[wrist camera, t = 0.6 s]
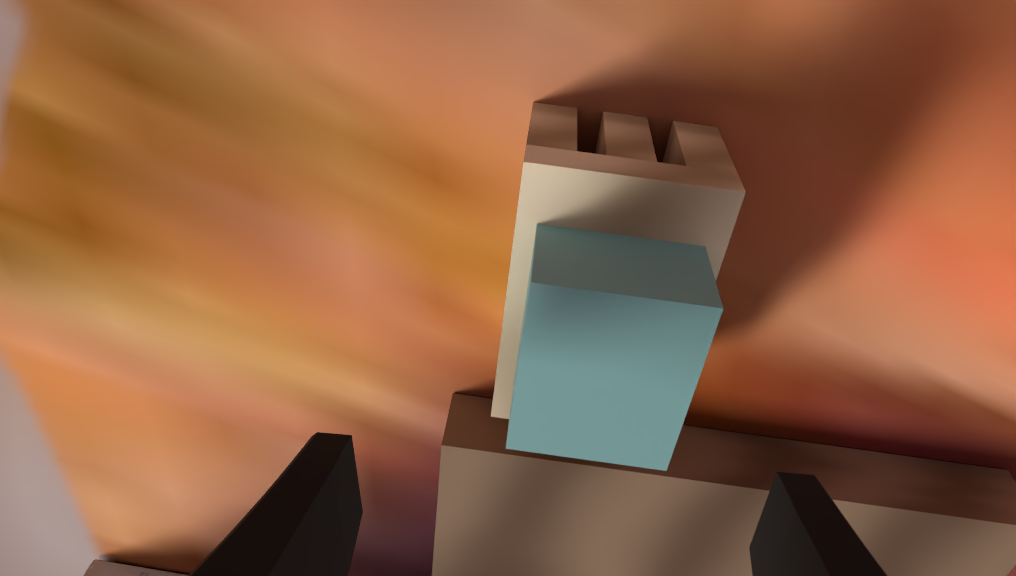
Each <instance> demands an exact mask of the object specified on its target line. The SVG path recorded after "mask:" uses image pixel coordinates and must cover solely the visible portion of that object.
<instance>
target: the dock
mask: <svg viewBox="0 0 1016 576" xmlns="http://www.w3.org/2000/svg"><path fill="white" fill-rule="evenodd" d="M492 402H493V399H491V398H484V397H477V396H470V395H462V394H455V393H453V396H452V400H451V405H450V409H449V414H448V418H447V423H446V428H445V432H444V437H443V441H442V447H441V460H440V474H439V487H438V500H437V513H436V526H435V540H434V553H433V566H432V576H753V575H752V566H751V558H750V550H749V547H750V544H751V541H752V538H753V536H754V533H755V530H756V527H757V525H758V522H759V519H760V516H761V514H762V511H763V508H764V505H765V502H766V500H767V497H768V494H769V491H770V489H771V486H772V483H773V480H774V478H775V475H776V472H785V473H797V474H809V475H815V477H816V478H817V479H818V480H819V481H820V483H821V484H822V486H823V487H824V488H825V490H826V491H827V493H828V494H829V496H830V497H831V498H832V500H833V501H834V503H835V504H836V506H837V507H838V508H839V510H840V511H841V513H842V514H843V515H844V517H845V518H846V520H847V521H848V523H849V524H850V525H851V527H852V528H853V530H854V531H855V532H856V534H857V535H858V536H859V538H860V539H861V541H862V542H863V543H864V545H865V546H866V547H867V549H868V550H869V552H870V553H871V554H872V556H873V557H874V558H875V560H876V561H877V562H878V564H879V565H880V566H881V568H882V569H883V570H884V572H885V573H886V574H887V576H1006V575H1007V574H1008V573H1009V572H1010V571H1011V570H1012V568H1013V567H1014V566H1015V565H1016V481H1015V480H1014V478H1013V477H1012V475H1011V474H1010V472H1009V471H1008V470H1004V469H996V468H989V467H982V466H975V465H968V464H960V463H953V462H946V461H939V460H931V459H924V458H917V457H910V456H903V455H895V454H888V453H881V452H874V451H866V450H859V449H852V448H845V447H838V446H830V445H823V444H816V443H809V442H802V441H794V440H787V439H780V438H773V437H765V436H758V435H751V434H744V433H737V432H729V431H722V430H715V429H708V428H701V427H693V426H686V425H682V428H681V431H680V434H679V437H678V440H677V442H676V445H675V448H674V451H673V454H672V457H671V460H670V462H669V465H668V468H667V471H663V470H656V469H649V468H642V467H635V466H627V465H620V464H613V463H606V462H598V461H591V460H584V459H577V458H570V457H562V456H555V455H548V454H541V453H534V452H526V451H519V450H512V449H506V441H507V433H508V424H509V419H504V418H497V417H491V410H492Z"/></svg>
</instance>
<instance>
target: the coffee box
mask: <svg viewBox="0 0 1016 576" xmlns="http://www.w3.org/2000/svg"><path fill="white" fill-rule="evenodd" d="M84 576H189V575H184V574H178V573H173V572H167V571H161V570H155V569H149V568H144V567H138V566H132V565H125V564H119V563H114V562H108V561H102V560H94V561H93V562H92V563H91V565H90V566H89V568H88V569H87V571H86V572H85V574H84Z"/></svg>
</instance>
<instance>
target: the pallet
mask: <svg viewBox="0 0 1016 576" xmlns="http://www.w3.org/2000/svg"><path fill="white" fill-rule="evenodd" d="M745 193H746V191H745V189H744V186H743V184H742V182H741V180H740V177H739V175H738V173H737V171H736V168H735V166H734V164H733V161H732V159H731V157H730V155H729V152H728V150H727V148H726V146H725V143H724V141H723V139H722V136H721V134H720V132H719V130H718V127H715V126H708V125H701V124H693V123H686V122H678V121H673V123H672V127H671V131H670V135H669V139H668V142H667V146H666V150H665V154H664V158H663V162H662V163H661V162H657V159H656V155H655V150H654V146H653V141H652V137H651V132H650V128H649V123H648V119H647V117H641V116H634V115H626V114H619V113H611V112H604V111H603V114H602V120H601V125H600V130H599V135H598V140H597V146H596V151H595V154H594V153H586V152H579V151H577V108H574V107H567V106H559V105H552V104H544V103H537V102H533V107H532V113H531V119H530V125H529V132H528V138H527V144H526V150H525V156H524V163H523V171H522V178H521V186H520V194H519V201H518V209H517V217H516V225H515V232H514V240H513V248H512V256H511V263H510V271H509V279H508V286H507V294H506V302H505V310H504V317H503V325H502V333H501V340H500V348H499V356H498V364H497V371H496V379H495V387H494V395H493V402H492V410H491V417H497V418H504V419H509V416H510V407H511V399H512V390H513V381H514V375H515V368H516V361H517V354H518V348H519V341H520V334H521V327H522V321H523V314H524V307H525V300H526V294H527V287H528V280H529V274H530V267H531V260H532V253H533V247H534V240H535V233H536V226H537V224H544V225H551V226H558V227H566V228H573V229H581V230H588V231H595V232H603V233H610V234H618V235H625V236H632V237H640V238H647V239H655V240H662V241H669V242H677V243H684V244H691V245H699V246H705V247H706V250H707V253H708V257H709V260H710V264H711V267H712V271H713V274H714V277H715V281H716V280H717V277H718V274H719V271H720V268H721V265H722V262H723V259H724V256H725V253H726V250H727V247H728V244H729V241H730V238H731V235H732V232H733V229H734V226H735V223H736V220H737V217H738V214H739V211H740V208H741V205H742V202H743V199H744V196H745Z"/></svg>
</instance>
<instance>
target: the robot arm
mask: <svg viewBox="0 0 1016 576" xmlns="http://www.w3.org/2000/svg"><path fill="white" fill-rule="evenodd" d="M362 513H363V511H362V504H361V497H360V490H359V483H358V476H357V469H356V462H355V455H354V448H353V442H352V435H342V434H331V433H319V432H317V433H316V434H314V435H313V436H312V437H311V438H310V439H309V440H308V442H307V443H306V444H305V446H304V447H303V448H302V449H301V451H300V452H299V453H298V454H297V456H296V457H295V458H294V459H293V460H292V462H291V463H290V464H289V465H288V467H287V468H286V469H285V470H284V471H283V473H282V474H281V475H280V476H279V478H278V479H277V480H276V481H275V482H274V483H273V485H272V486H271V487H270V488H269V489H268V490H267V492H266V493H265V494H264V495H263V496H262V498H261V499H260V500H259V501H258V502H257V503H256V504H255V505H254V507H253V508H252V509H251V510H250V511H249V512H248V513H247V514H246V515H245V517H244V518H243V519H242V520H241V521H240V522H239V523H238V524H237V525H236V527H235V528H234V529H233V530H232V531H231V532H230V533H229V534H228V535H227V537H226V538H225V539H224V540H223V541H222V542H221V543H220V544H219V545H218V546H217V547H216V548H215V549H214V550H213V551H212V552H211V553H210V554H209V555H208V556H207V557H206V558H205V559H204V560H203V561H202V562H201V563H200V564H199V565H198V566H197V567H196V568H195V569H194V570H193V571H192V573H191V574H190V575H189V576H347V574H348V571H349V568H350V564H351V560H352V555H353V551H354V547H355V543H356V539H357V535H358V530H359V526H360V521H361V517H362ZM749 550H750V558H751V566H752V575H753V576H887V574H886V573H885V572H884V570H883V569H882V568H881V566H880V565H879V564H878V562H877V561H876V560H875V558H874V557H873V556H872V554H871V553H870V552H869V550H868V549H867V547H866V546H865V545H864V543H863V542H862V541H861V539H860V538H859V536H858V535H857V534H856V532H855V531H854V530H853V528H852V527H851V525H850V524H849V523H848V521H847V520H846V518H845V517H844V515H843V514H842V513H841V511H840V510H839V508H838V507H837V506H836V504H835V503H834V501H833V500H832V498H831V497H830V496H829V494H828V493H827V491H826V490H825V488H824V487H823V486H822V484H821V483H820V481H819V480H818V479H817V478H816V477H815V475H809V474H797V473H785V472H776V475H775V478H774V480H773V483H772V486H771V489H770V491H769V494H768V497H767V500H766V502H765V505H764V508H763V511H762V514H761V516H760V519H759V522H758V525H757V527H756V530H755V533H754V536H753V538H752V541H751V544H750V547H749Z"/></svg>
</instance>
